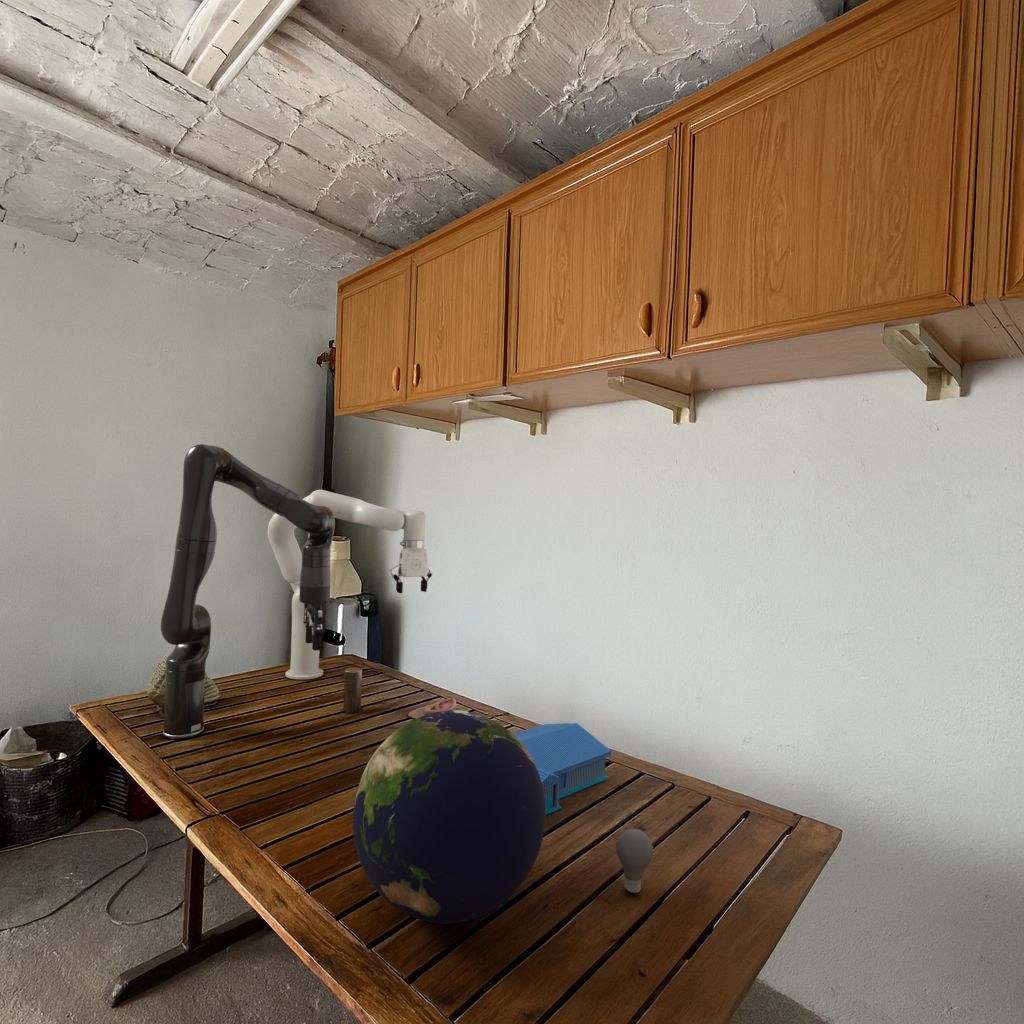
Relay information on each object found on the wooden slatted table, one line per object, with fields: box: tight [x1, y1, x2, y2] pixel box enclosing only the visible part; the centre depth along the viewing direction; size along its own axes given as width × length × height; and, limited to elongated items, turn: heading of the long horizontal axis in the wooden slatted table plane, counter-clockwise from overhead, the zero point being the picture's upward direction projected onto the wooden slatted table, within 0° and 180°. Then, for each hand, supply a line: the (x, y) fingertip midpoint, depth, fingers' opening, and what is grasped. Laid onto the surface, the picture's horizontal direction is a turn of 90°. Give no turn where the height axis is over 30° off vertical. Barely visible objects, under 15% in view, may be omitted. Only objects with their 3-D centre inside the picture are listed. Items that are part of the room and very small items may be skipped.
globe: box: [352, 709, 547, 925], centre depth 100 cm, size 30×30×30 cm
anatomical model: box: [407, 698, 457, 719], centre depth 186 cm, size 13×4×12 cm
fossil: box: [147, 654, 221, 712], centre depth 185 cm, size 9×18×15 cm, turn 132°
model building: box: [512, 722, 612, 816], centre depth 142 cm, size 39×24×10 cm, turn 132°
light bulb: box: [615, 828, 654, 894], centre depth 106 cm, size 6×6×10 cm
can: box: [342, 667, 363, 714], centre depth 188 cm, size 5×5×12 cm
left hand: (313, 646), depth 163 cm, fingers open, 8 cm apart
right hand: (411, 592), depth 229 cm, fingers open, 9 cm apart
